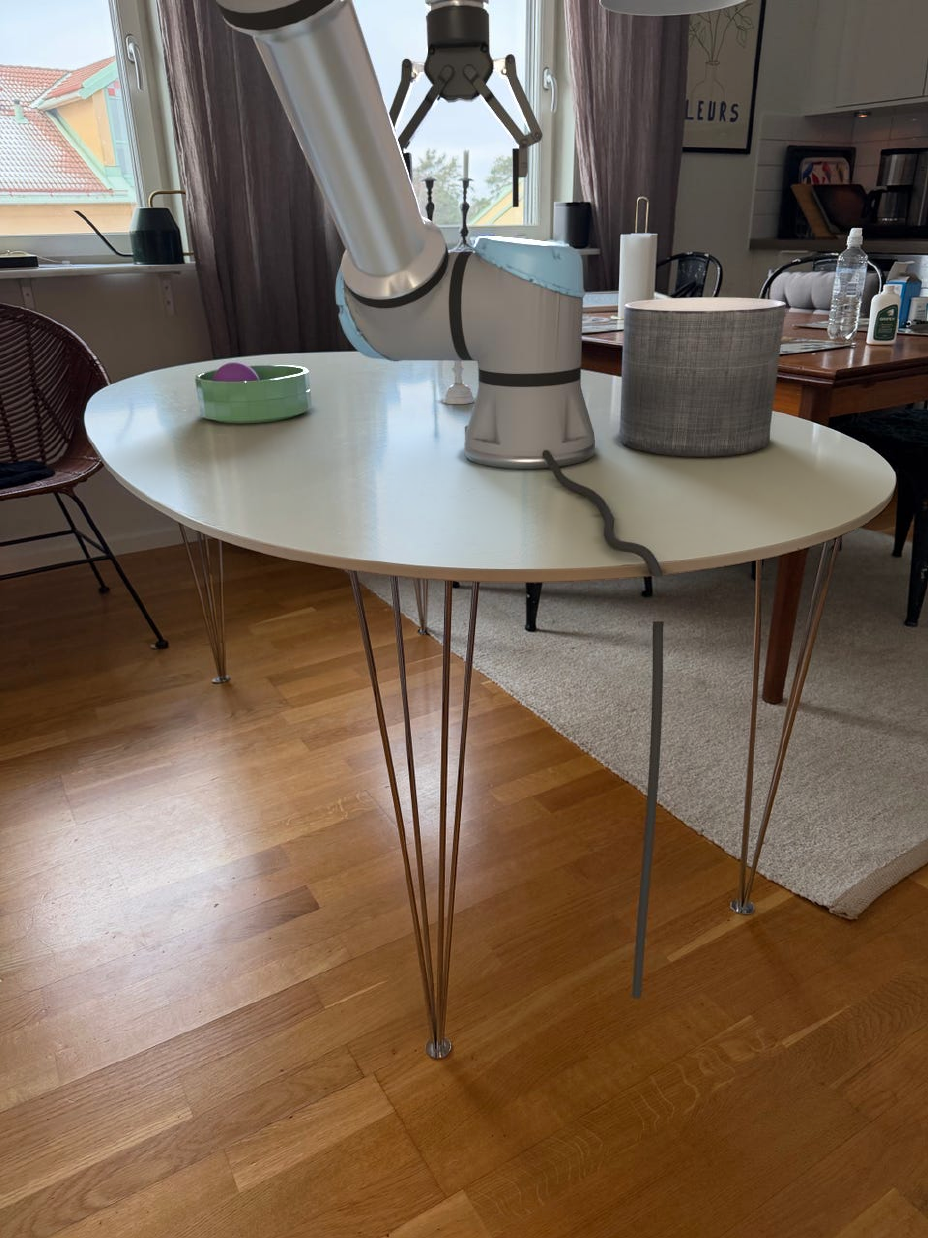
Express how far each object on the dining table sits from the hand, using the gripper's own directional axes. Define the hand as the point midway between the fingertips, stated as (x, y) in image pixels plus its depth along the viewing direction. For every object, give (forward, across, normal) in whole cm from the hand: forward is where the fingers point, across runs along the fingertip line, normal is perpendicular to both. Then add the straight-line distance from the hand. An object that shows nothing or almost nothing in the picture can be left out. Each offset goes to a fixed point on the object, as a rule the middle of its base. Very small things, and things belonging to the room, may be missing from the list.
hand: (462, 208), depth 110 cm
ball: (+23, +34, -6) cm, 42 cm away
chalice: (+27, +2, -13) cm, 30 cm away
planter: (+27, -28, +17) cm, 42 cm away
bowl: (+27, +32, -6) cm, 42 cm away
